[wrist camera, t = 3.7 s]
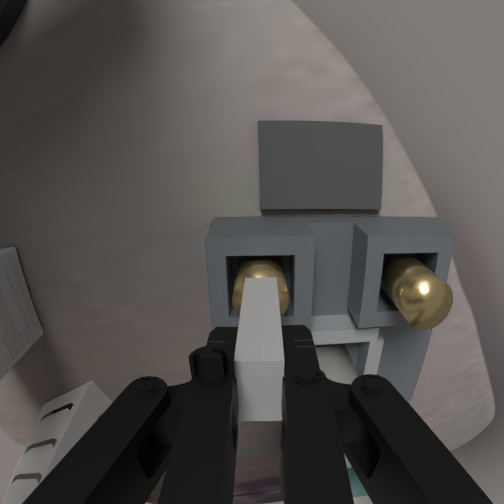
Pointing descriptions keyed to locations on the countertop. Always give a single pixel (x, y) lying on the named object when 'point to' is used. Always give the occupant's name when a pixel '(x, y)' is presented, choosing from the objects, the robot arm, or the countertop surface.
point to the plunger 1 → (261, 268)
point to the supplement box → (15, 312)
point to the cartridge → (342, 370)
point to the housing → (336, 281)
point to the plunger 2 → (416, 291)
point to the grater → (55, 437)
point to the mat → (320, 165)
